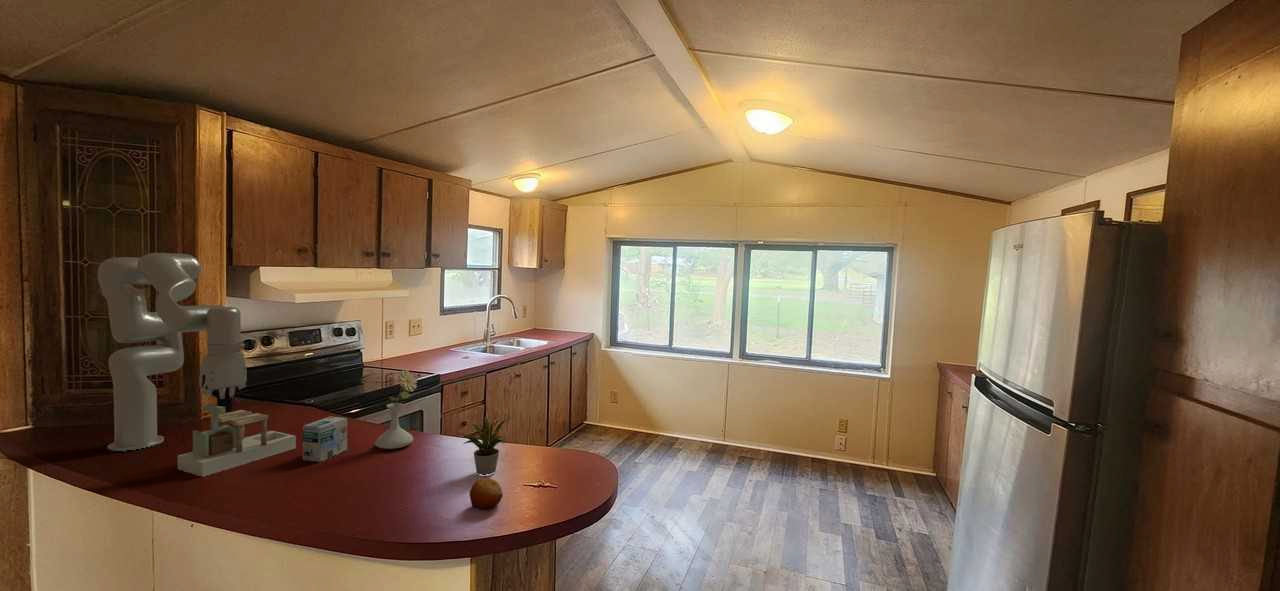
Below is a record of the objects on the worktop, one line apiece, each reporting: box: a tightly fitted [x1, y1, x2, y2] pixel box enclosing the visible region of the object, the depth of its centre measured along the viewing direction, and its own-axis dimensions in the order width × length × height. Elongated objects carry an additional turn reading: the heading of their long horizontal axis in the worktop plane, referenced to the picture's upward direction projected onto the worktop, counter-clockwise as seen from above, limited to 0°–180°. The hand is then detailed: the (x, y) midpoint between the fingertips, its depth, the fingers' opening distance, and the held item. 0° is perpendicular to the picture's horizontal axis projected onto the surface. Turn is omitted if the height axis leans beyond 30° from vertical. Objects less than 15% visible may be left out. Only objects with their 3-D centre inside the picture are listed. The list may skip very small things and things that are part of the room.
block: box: [209, 431, 232, 456], centre depth 142 cm, size 5×5×5 cm
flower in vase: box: [374, 369, 418, 450], centre depth 162 cm, size 13×11×25 cm
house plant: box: [459, 416, 511, 475], centre depth 143 cm, size 14×14×16 cm
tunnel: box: [218, 409, 269, 452], centre depth 148 cm, size 13×8×9 cm, turn 68°
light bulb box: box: [302, 415, 348, 463], centre depth 152 cm, size 11×7×11 cm, turn 168°
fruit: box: [469, 477, 503, 511], centre depth 122 cm, size 8×8×8 cm
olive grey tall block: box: [192, 403, 236, 456], centre depth 142 cm, size 8×7×13 cm
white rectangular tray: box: [177, 430, 297, 478], centre depth 148 cm, size 12×25×4 cm, turn 158°
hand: (224, 410), depth 144 cm, fingers closed
